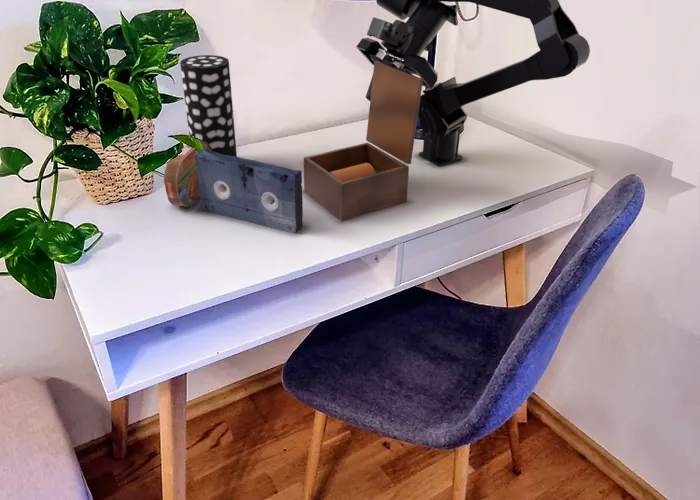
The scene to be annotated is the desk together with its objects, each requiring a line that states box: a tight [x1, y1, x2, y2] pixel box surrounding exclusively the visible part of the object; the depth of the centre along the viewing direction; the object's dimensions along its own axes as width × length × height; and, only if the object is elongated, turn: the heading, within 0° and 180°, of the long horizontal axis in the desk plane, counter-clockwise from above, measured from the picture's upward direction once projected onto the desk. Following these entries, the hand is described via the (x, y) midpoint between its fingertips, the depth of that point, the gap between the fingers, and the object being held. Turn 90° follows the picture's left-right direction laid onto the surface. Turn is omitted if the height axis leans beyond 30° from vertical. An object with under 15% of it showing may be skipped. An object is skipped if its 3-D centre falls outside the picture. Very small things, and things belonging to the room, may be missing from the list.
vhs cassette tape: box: [195, 150, 304, 234], centre depth 100 cm, size 18×3×10 cm, turn 64°
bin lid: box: [365, 61, 423, 165], centre depth 106 cm, size 14×12×1 cm
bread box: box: [303, 142, 410, 222], centre depth 108 cm, size 13×12×7 cm
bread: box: [329, 163, 376, 182], centre depth 108 cm, size 8×5×5 cm
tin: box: [163, 141, 212, 208], centre depth 107 cm, size 15×3×8 cm, turn 168°
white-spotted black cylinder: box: [179, 54, 238, 157], centre depth 114 cm, size 8×8×20 cm
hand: (368, 99), depth 114 cm, fingers closed
